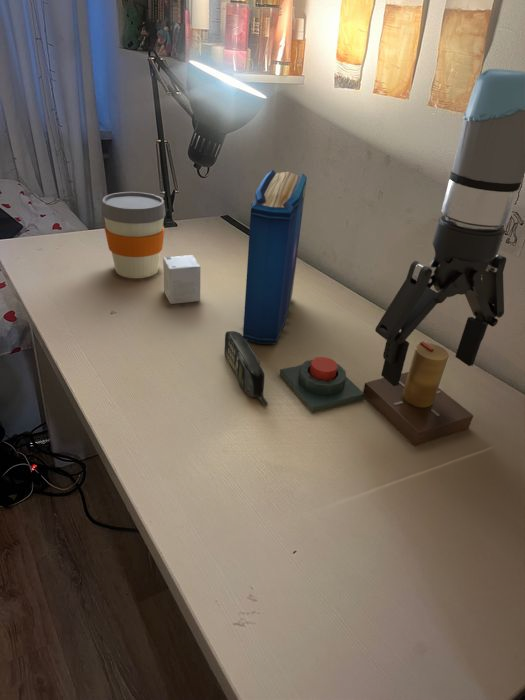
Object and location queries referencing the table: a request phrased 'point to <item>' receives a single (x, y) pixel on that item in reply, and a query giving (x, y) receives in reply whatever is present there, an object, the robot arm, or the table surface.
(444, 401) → the plate
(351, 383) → the push button base
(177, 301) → the white cardboard box
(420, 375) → the lock knob
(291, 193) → the book
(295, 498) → the table surface
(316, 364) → the bell button
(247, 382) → the mobile phone
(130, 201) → the reusable coffee cup
